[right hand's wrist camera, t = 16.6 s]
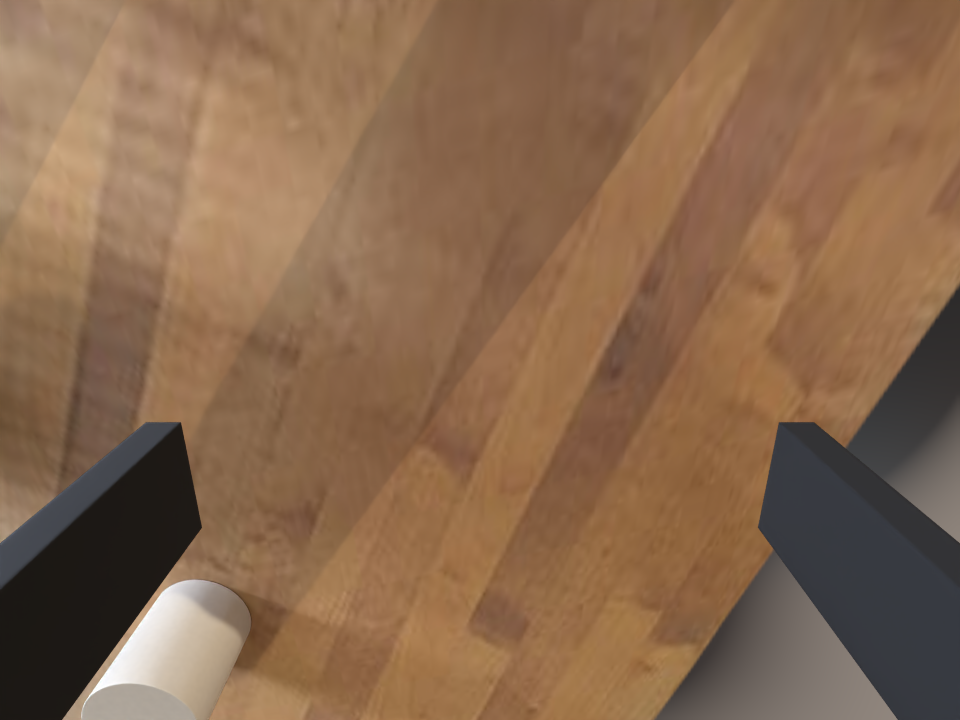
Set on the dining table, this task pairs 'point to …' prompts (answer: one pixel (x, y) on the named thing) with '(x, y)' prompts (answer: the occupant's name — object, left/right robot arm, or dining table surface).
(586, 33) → the dining table surface
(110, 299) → the dining table surface
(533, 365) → the dining table surface
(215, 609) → the cylinder
